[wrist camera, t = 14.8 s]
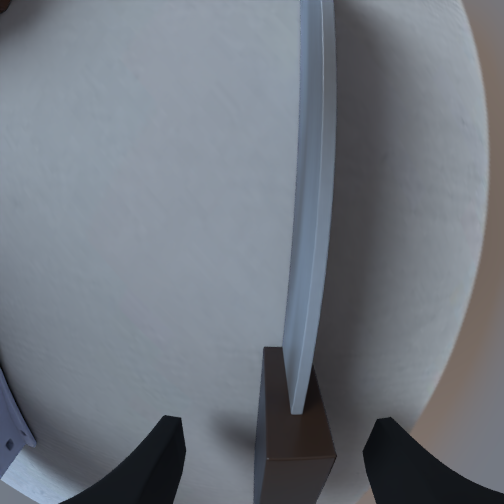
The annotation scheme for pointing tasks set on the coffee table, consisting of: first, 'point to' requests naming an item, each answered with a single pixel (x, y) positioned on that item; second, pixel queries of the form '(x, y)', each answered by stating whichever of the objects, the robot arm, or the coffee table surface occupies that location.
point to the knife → (303, 289)
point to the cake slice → (4, 5)
